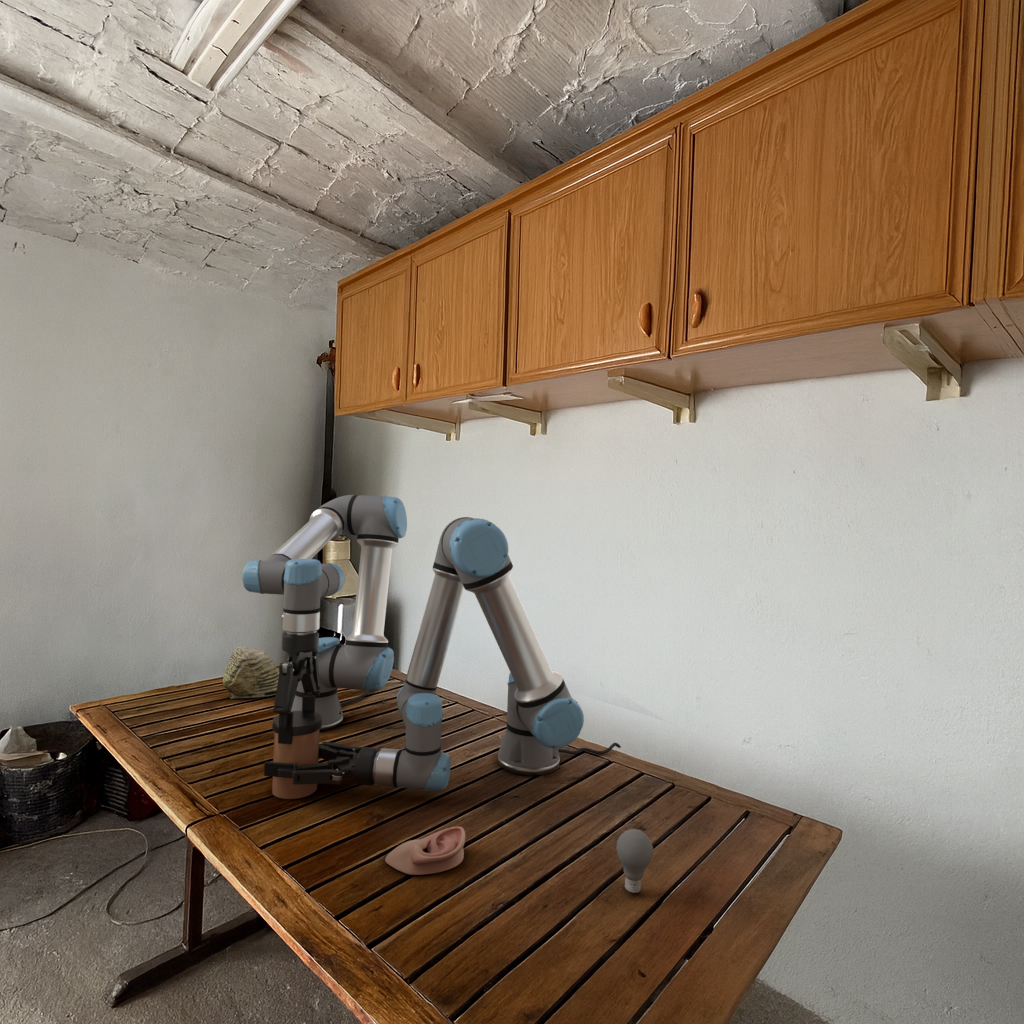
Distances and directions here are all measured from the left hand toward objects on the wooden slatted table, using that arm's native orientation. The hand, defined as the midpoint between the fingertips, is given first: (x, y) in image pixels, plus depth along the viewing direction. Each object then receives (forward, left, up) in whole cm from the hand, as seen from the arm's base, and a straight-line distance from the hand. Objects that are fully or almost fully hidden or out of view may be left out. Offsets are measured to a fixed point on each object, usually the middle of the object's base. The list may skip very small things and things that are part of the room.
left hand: (296, 733), depth 137 cm
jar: (0, 0, -12) cm, 12 cm away
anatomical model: (-1, +40, -12) cm, 42 cm away
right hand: (+2, -4, -6) cm, 7 cm away
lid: (0, 0, +3) cm, 3 cm away
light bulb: (-18, +72, -12) cm, 75 cm away
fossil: (-27, -65, -12) cm, 71 cm away
